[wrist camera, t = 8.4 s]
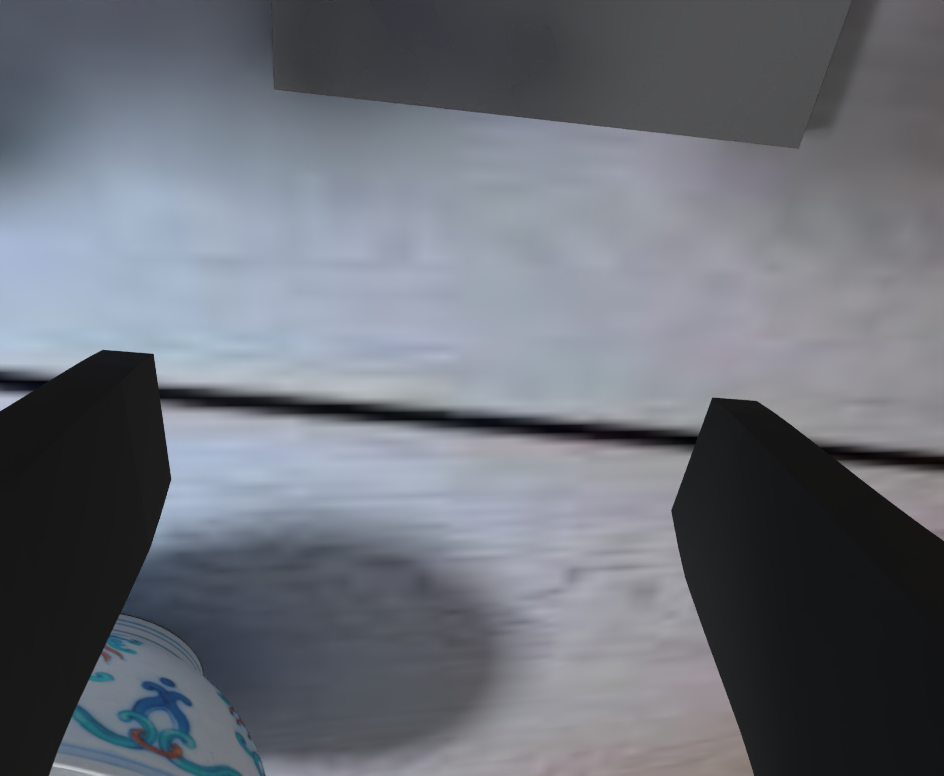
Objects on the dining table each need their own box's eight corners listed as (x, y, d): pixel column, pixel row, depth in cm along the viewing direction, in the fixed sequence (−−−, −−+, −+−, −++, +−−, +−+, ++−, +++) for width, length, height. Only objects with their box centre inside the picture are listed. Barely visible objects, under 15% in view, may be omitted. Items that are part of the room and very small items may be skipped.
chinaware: (255, 796, 35) (214, 1004, 28) (-105, 732, 31) (-248, 955, 24) (363, 593, 27) (340, 814, 21) (-97, 474, 23) (-300, 700, 17)
